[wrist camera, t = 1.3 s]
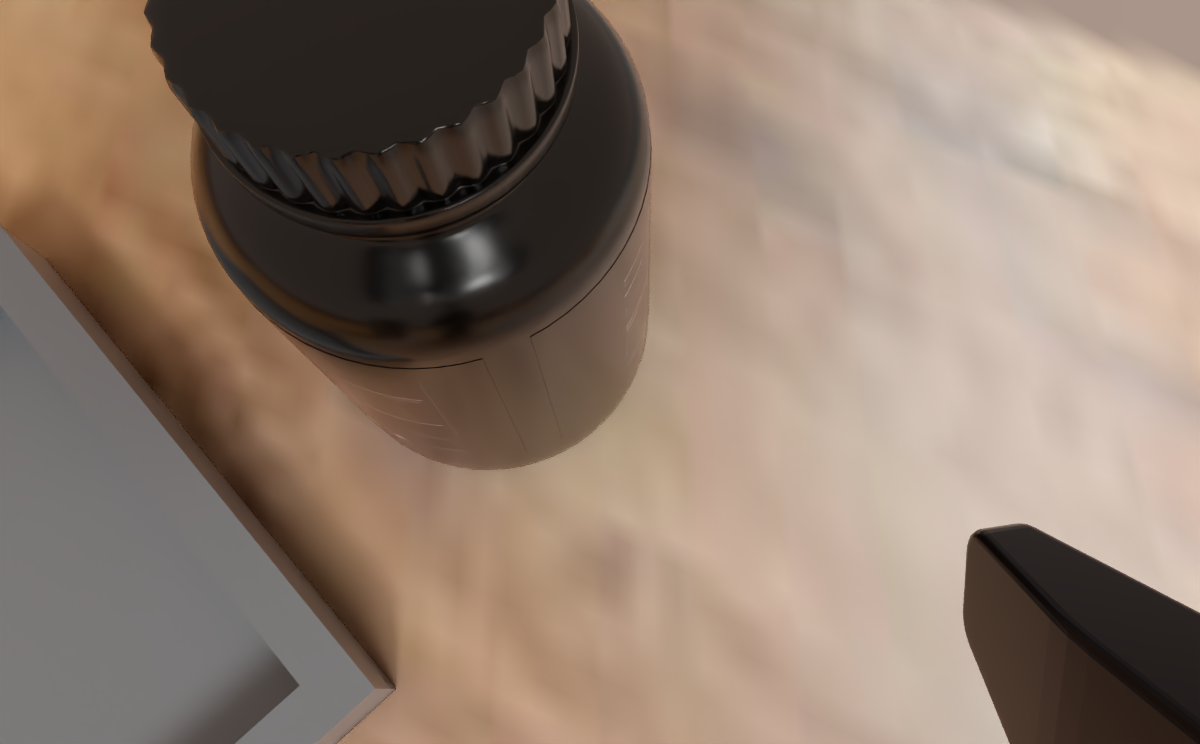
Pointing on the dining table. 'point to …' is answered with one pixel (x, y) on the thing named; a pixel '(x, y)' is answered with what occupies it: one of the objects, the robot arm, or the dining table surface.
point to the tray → (141, 561)
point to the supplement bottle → (429, 204)
